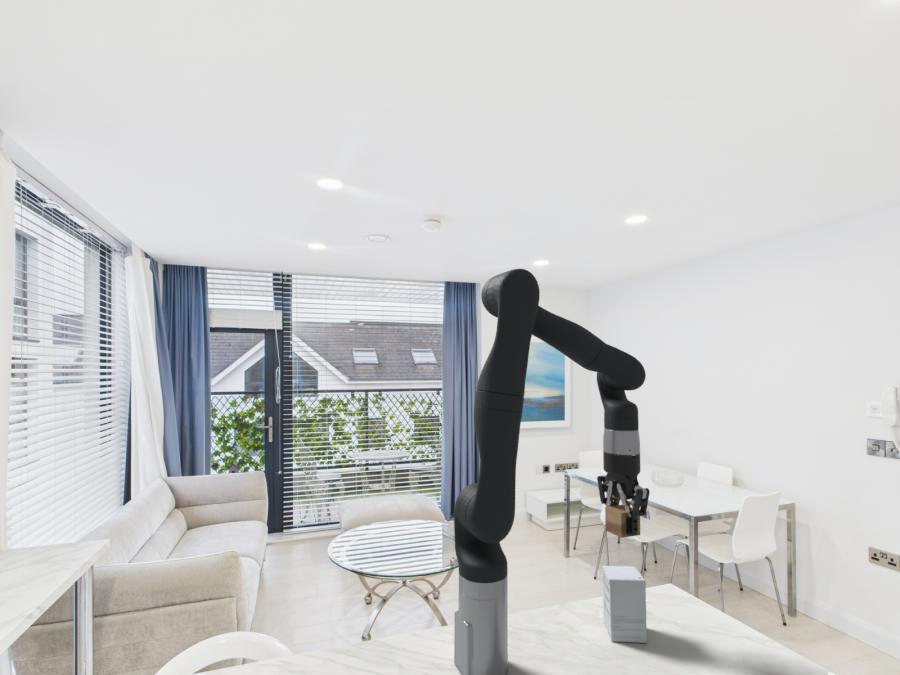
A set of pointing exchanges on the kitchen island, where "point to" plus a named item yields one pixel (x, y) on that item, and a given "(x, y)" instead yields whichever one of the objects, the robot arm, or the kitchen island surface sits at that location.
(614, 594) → the supplement box
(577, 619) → the kitchen island surface
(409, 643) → the kitchen island surface
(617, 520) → the walnut cube
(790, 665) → the kitchen island surface
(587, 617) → the kitchen island surface
